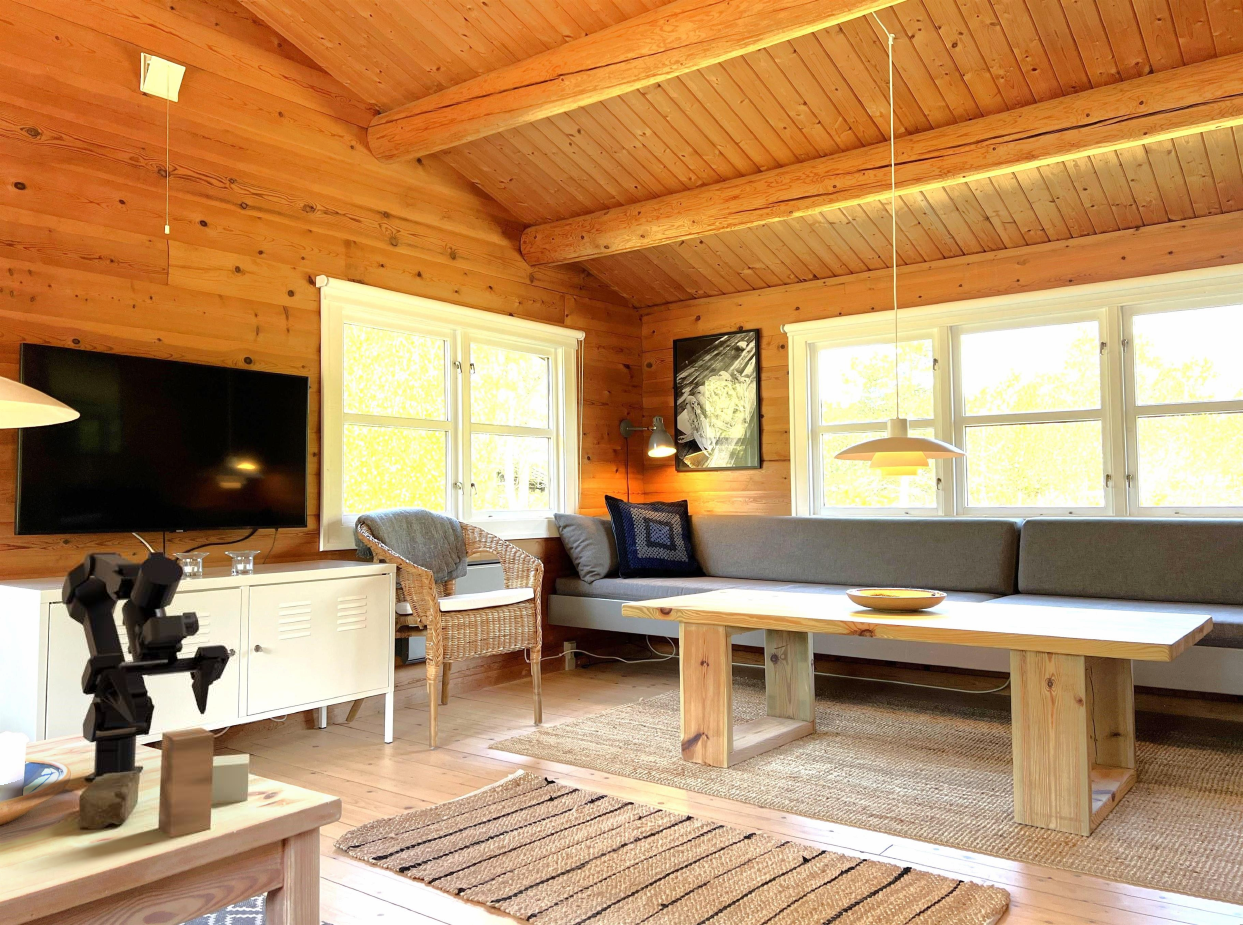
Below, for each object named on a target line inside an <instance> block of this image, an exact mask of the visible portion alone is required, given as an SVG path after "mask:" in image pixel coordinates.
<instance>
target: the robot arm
mask: <svg viewBox="0 0 1243 925" xmlns="http://www.w3.org/2000/svg"><path fill="white" fill-rule="evenodd" d="M183 575H184V568H183V567H182V566H181V565H180V564H179V563H178V562H177V561H175V560H174V559H172V558H170V557H167V556H165V553H164V552H163V551H150V552H149V553H148V555H147V558H146V559H144V561H143V562H135V561H132V560H129V559H128V558H125V557H123V556H122V555H121V553H117V552H116V551H109V552H107V551H105V552H103V551H99V552H98V551H97V552H91V553H87V554H86V555H85V557H84V560H83V561H82V562H81V563H80V564H79V565H77V566H75V567H74V568H73V569H72V570H70V571H68V573H67V575H66V578H65V580H64V582H63V586H62V589H61V602H62V604H63V605H65V607H66V610H67V613H68V616H69V617H70V618H71V619H72V620H74V621H75V622H77V623H79V624H80V625H81V626H82V627H83V631H84V636H85V641H86V644H87V649H88V652H89V656H90V657H89V658H88V659H87V662H86V664H85V666H84V670H83V672H82V675H81V681H80V682H81V683H80V685H81V689H82V693H83V694H84V695H86V696H88V695H93V697H92V700H91V703H90V705H89V707H88V710H87V712H86V715H85V718H84V720H83V723H82V737H83V739H85V740H86V741H88V742H89V743H90V744H91V743H95V745H94V746H95V748H94V765H93V767H94V768H93V772H91V773H90V774H88V775H86V776H84V781H87V782H90V781H91V782H93V780H95V778H96V777H100V776H103V775H104V774H107V773H122V772H130V771H137V772H139V773H140V772H142V771H144V766H142V765H141V766H140V765H139V766H137V765H136V755H137V754H136V753H137V749H136V748H137V736H138V737H139V736H149V735H150V734H149V733H150V730H151V728H152V721H153V715H154V711H155V706H156V705H155V704H154V703H153V699H152V697H151V696H150V695H148V693H149V691H148V688H146V683H145V679H144V678H145V677H143V676H147V677H154V676H163V675H173V674H184V673H189V674H190V679H191V680H192V683H191V688H192V689H191V690H192V693H193V696H194V700H195V703H196V706H197V709H198V711H199V713H200V715H204V714H206V711H207V703H208V696H209V688H210V686H211V685H213V684H214V683H215V681H218V680H220V679H221V677H222V675H223V674H224V672H225V669H226V667H227V665H228V663H229V660H230V659H231V657H230V654H229V650H228V648H227V647H226V646H225V645H222V644H216V645H214V644H213V645H205V646H204V645H203V646H198V647H197V649H196V651H195V653H194V656H191V657H181V658H178V653H182V650H183V640H185V639H187V638H188V637H194V636H195V635H196V634H197V633H198V632H199V631H200V623H199V622H200V621H199V618H198V614H197V613H196V611H188V612H182V614H179V615H178V614H175V615H174V614H173V615H167V611H166V608H167V607H169V606H170V605H172V603H173V600H174V597H175V595H176V592H177V590H178V588H179V585H180V583H181V581H182V578H183ZM119 601H125V602H124V603H123V605H122V606H121V615H122V624H121V625H122V626H123V627H125V628H124V629H125V631H126V636H127V640H128V646H127V652H128V655H131V658H132V660H131V661H126V658H125V654H124V650H123V647H122V643H121V639H120V635H119V632H118V628H117V625H116V620H115V617H114V614H115V612H116V611H115V610H116V608H117V604H118V602H119Z"/></svg>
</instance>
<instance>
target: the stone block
mask: <svg viewBox="0 0 1243 925" xmlns="http://www.w3.org/2000/svg"><path fill="white" fill-rule="evenodd" d="M140 779H141V778H140V772H137V771H130V772H122V773H107V774H104V775H103V776H100V777H96V778H95V780H93V781H91V783H90V784H89V786H88V787H86V788H85V789H84V790H83V791H81V792H82V793H81V794H80V795H79V799H78V801H79V802H78V804H79V805H78V808H79V809H78V821H77V822H78V826H77V827H78V828H79V829H80V830H81V829H89V830H97V829H104V828H106V827H107V826H108V825H112V824H115V825H121V824H124V823H125V822H126V821H127V820H128V819H129V817H130V814H132V813H133V811H134V810H135V807H136V806H137V804H138V801H139V800H138V799H139V788H140V787H139V785H140Z"/></svg>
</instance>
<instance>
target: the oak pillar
mask: <svg viewBox="0 0 1243 925" xmlns="http://www.w3.org/2000/svg"><path fill="white" fill-rule="evenodd" d="M214 744H215V734H214V733H213V732H211V731H209V730H208V729H205V728H203V727H196V728H188V729H181V730H173V731H166V732H165V731H164V732H162V736H161V758H160V759H161V760H160V777H159V778H160V780H159V783H160V785H159V808H158V829H160V830H161V831H162V832H163V833H164V834H166V835H167V836H168V837H169V838H176V837H179V836H185V835H189V834H193V833H199V832H204V831H207V830H208V831H209V830H211V822H212V804H211V802H212V777H213V757H214V750H215V749H214V747H215V746H214Z"/></svg>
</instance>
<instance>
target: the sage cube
mask: <svg viewBox="0 0 1243 925" xmlns="http://www.w3.org/2000/svg"><path fill="white" fill-rule="evenodd" d="M249 770H250V753H242V754H230V755H228V754H227V755H219V756H218V755H217V756H216V755H215V756H214V755H213V777H212V802H211V805H213V804H215V805H217V804H224V803H237V802H246V801H247V802H248V801H249V800H248V798H249V794H248V793H249V777H250V776H249V775H250V774H249V772H250V771H249Z"/></svg>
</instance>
